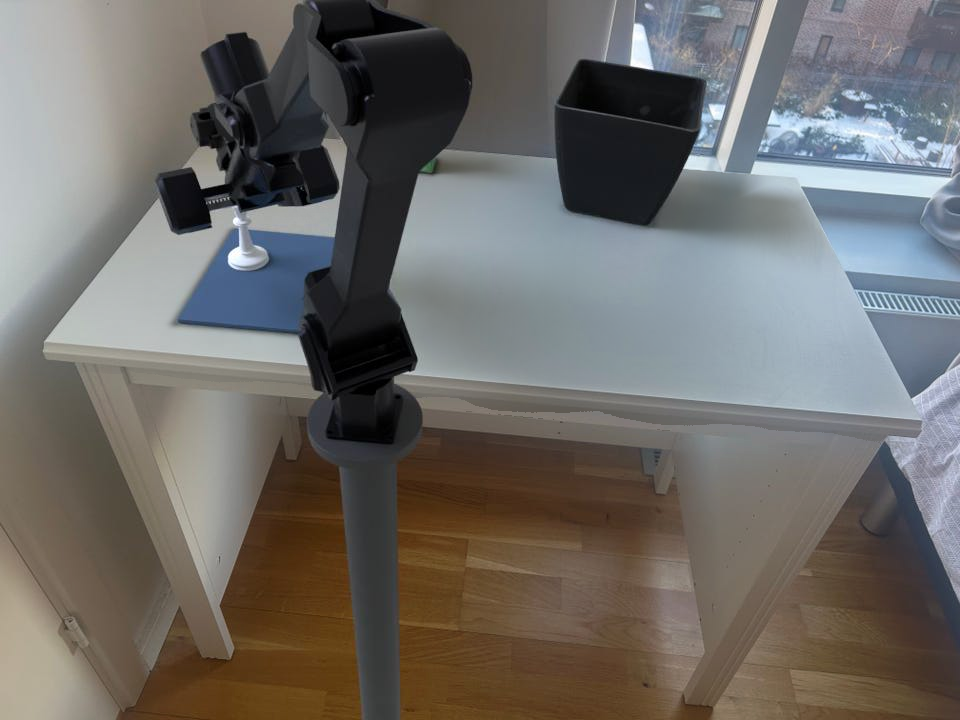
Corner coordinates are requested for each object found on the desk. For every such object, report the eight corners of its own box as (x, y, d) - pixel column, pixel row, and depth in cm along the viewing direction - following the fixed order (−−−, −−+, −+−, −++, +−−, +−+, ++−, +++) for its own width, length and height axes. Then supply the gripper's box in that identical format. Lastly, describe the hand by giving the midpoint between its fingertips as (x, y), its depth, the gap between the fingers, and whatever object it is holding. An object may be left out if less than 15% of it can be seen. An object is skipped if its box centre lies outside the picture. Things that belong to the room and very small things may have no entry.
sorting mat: (318, 335, 84) (318, 332, 83) (178, 322, 84) (177, 319, 84) (353, 242, 99) (353, 238, 99) (234, 231, 99) (233, 228, 99)
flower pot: (670, 243, 104) (701, 128, 93) (538, 217, 107) (553, 103, 96) (679, 184, 118) (707, 77, 107) (563, 162, 121) (578, 57, 110)
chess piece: (276, 254, 95) (266, 183, 88) (255, 274, 91) (243, 202, 84) (241, 246, 96) (229, 175, 89) (220, 265, 92) (205, 193, 85)
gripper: (321, 72, 78) (292, 132, 92) (136, 100, 70) (135, 161, 84) (357, 172, 78) (323, 217, 92) (177, 211, 70) (169, 254, 84)
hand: (241, 210), depth 88 cm, fingers open, 9 cm apart
